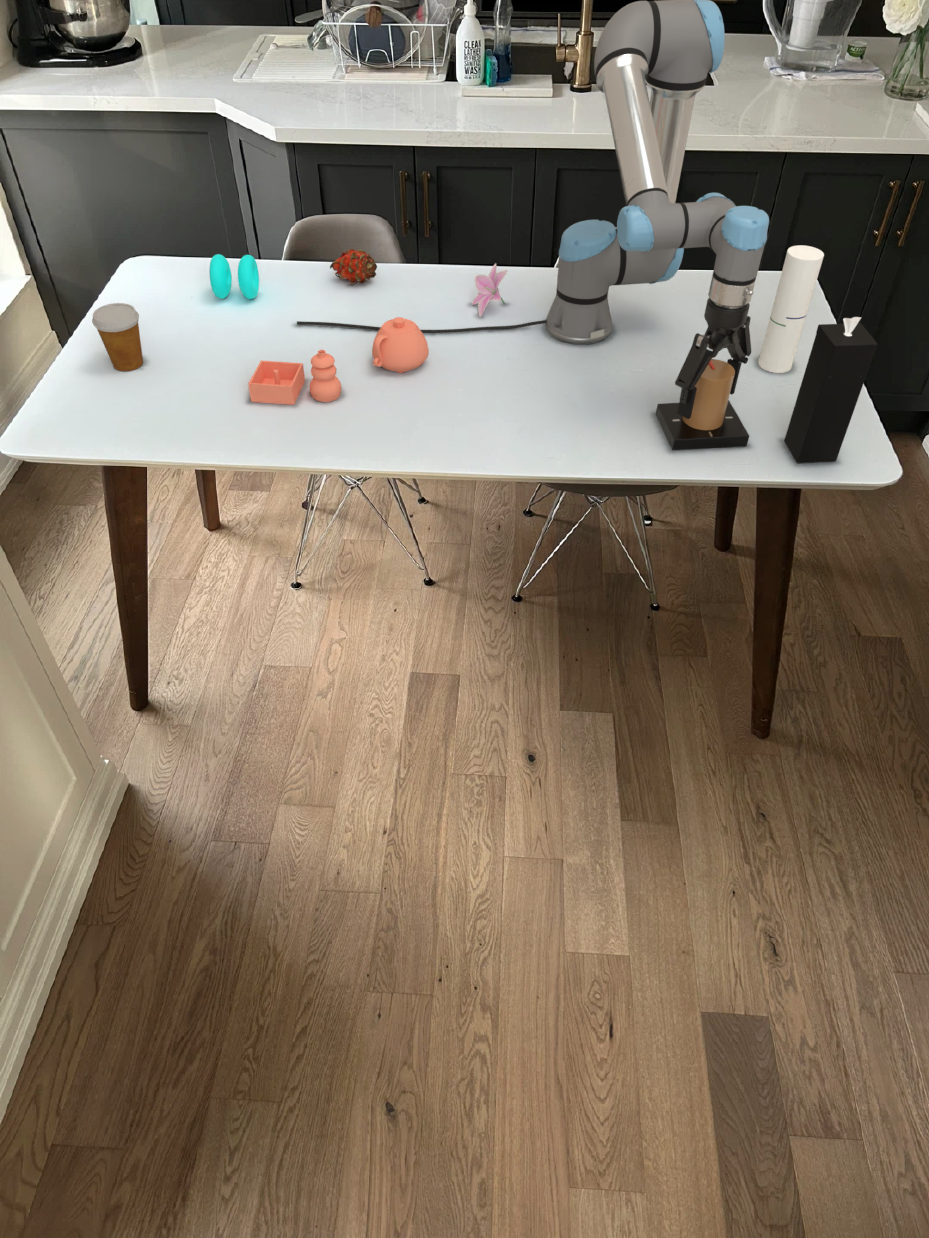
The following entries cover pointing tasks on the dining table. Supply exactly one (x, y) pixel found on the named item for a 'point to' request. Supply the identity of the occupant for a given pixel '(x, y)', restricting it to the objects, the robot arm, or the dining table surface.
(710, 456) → the dining table surface
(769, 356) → the cylindrical container
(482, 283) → the lily
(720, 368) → the tan pointer knob
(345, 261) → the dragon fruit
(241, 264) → the donuts
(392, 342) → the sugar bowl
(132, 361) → the disposable coffee cup
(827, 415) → the tissue box
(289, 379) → the terracotta box and gourd
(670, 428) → the control knob panel
